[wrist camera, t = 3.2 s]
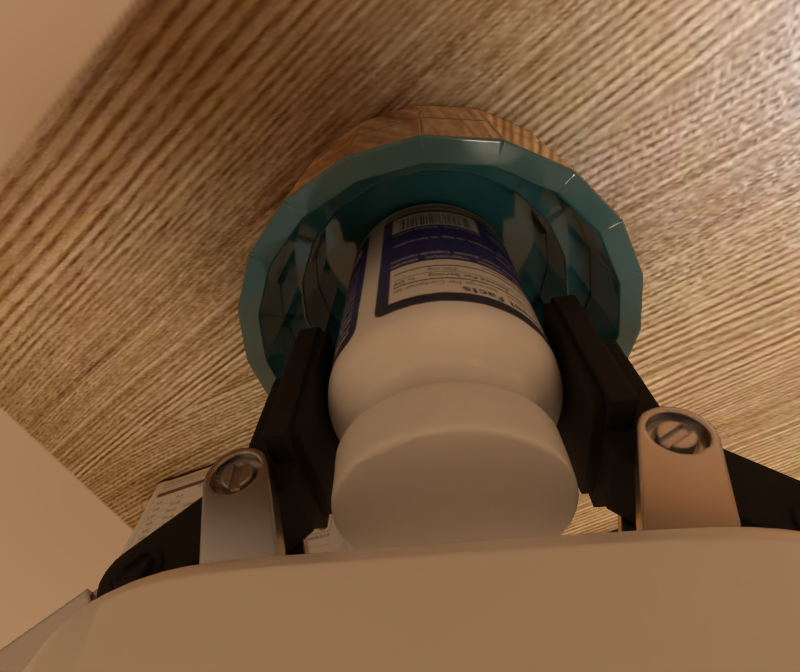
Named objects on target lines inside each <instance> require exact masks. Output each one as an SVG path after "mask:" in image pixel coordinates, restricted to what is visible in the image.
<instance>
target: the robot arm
mask: <svg viewBox="0 0 800 672" xmlns="http://www.w3.org/2000/svg"><path fill="white" fill-rule="evenodd" d="M543 331H544V333H545V336H546V337H547V340H548V342H549V344H550V346H551V348H552V351H553V353H554V355H555V357H556V360H557V363H558V366H559V369H560V372H561V377H562V382H563V403H562V410H561V414H560V417H559V420H558V423H557V425H556V427H557V429H558V431H559V434H560V436H561V439H562V441H563V444H564V446H565V449H566V451H567V454H568V457H569V459H570V462H571V465H572V468H573V471H574V474H575V476H576V480H577V484H578V487H579V490H580V492H581V493H582V494H588V493H589V496H590V499H591V501H592V504H593V506H594V507H604V506H606V507H607V509H609V510H611V511H613V512H614V513H616V514H618V532H606V533H591V534H576V535H561V536H546V537H530V538H515V539H501V540H487V541H473V542H458V543H444V544H430V545H416V546H402V547H389V548H375V549H362V550H349V551H336V552H323V553H310V552H309V546H308V541H307V536H309V535H310V534H311V533H312V532H313V531H314V529H319V528H327V527H328V520H329V514H332V509H331V497H332V489H333V482H334V472H335V460H336V453H337V449H338V446H339V443H340V441H339V439H338V437H337V435H336V433H335V431H334V429H333V426H332V423H331V419H330V415H329V409H328V385H329V378H330V373H331V368H332V362H333V358H334V353H335V349H334V346H333V343H332V340H331V336H330V334H329V332H328V331H323V330H322V329H321V327H315V328H307V329H301V330H300V331H299V333H298V335H297V338H296V341H295V344H294V346H293V349H292V352H291V355H290V357H289V360H288V363H287V365H286V368H285V371H284V374H283V376H282V377H278V378H277V379H275V381H274V383H273V385H272V388H271V390H270V393H269V396H268V398H267V401H266V403H265V406H264V409H263V411H262V414H261V416H260V419H259V422H258V424H257V427H256V429H255V432H254V435H253V437H252V440H251V443H250V445H249V448H241V449H237V450H234V451H232V452H230V453H228V454H226V455H224V456H223V457H221V458H220V459H219V460H217V461H216V462H215V463H214V464H213V465H212V467H211V468H210V469H209V471H208V472H207V474H206V476H205V478H204V483H203V495H202V497H201V498H199V499H198V500H197V501H195V502H194V503H192V504H191V505H190V506H188V507H187V508H185V509H184V510H183V511H181V512H180V513H179V514H177V515H176V516H174V517H173V518H172V519H170V520H169V521H167V522H166V523H165V524H163V525H162V526H161V527H159V528H158V529H156V530H155V531H154V532H152V533H151V534H149V535H148V536H147V537H145V538H144V539H143V540H141V541H140V542H138V543H137V544H136V545H134V546H133V547H131V548H130V549H129V550H127V551H126V552H125V553H123V554H122V555H121V556H120V557H119V558H118V559H116V560H115V561H114V562H113V564H112V565H111V566H110V567H109V569H108V570H107V571H106V572H105V574H104V576H103V578H102V580H101V581H100V583H99V587H98V589H97V590H95V591H94V592H91V591H90V590H89V589H87V590H85V591H84V592H82V593H81V594H79V595H78V596H77V597H75V598H74V599H72V600H71V601H69V602H68V603H67V604H65V605H64V606H62V607H61V608H59V609H58V610H57V611H55V612H54V613H52V614H51V615H49V616H48V617H47V618H45V619H44V620H42V621H41V622H40V623H38V624H37V625H35V626H34V627H32V628H31V629H30V630H28V631H27V632H25V633H24V634H23V635H21V636H20V637H18V638H17V639H15V640H14V641H12V642H11V643H10V644H8V645H7V646H6V647H4V648H3V649H1V650H0V672H800V481H799V480H796V479H794V478H792V477H789V476H787V475H784V474H782V473H780V472H777V471H775V470H772V469H770V468H768V467H765V466H763V465H761V464H758V463H756V462H753V461H751V460H749V459H746V458H744V457H741V456H739V455H737V454H734V453H732V452H730V451H727V450H725V449H723V447H722V443H721V439H720V436H719V434H718V432H717V430H716V429H715V428H714V426H713V425H712V424H711V423H710V422H709V421H707V420H706V419H704V418H703V417H701V416H700V415H698V414H696V413H693V412H691V411H689V410H686V409H681V408H677V407H664V406H662V407H660V406H659V405H658V403H657V402H656V400H655V399H654V397H653V396H652V394H651V393H650V391H649V390H648V388H647V387H646V385H645V384H644V382H643V381H642V379H641V378H640V376H639V375H638V373H637V372H636V370H635V369H634V367H633V366H632V364H631V363H630V361H629V360H628V358H627V357H626V355H625V354H624V352H623V351H622V349H621V348H620V346H619V345H618V343H617V342H616V341H615V340H613V339H606V340H603V339H602V337H601V336H600V334H599V333H598V331H597V329H596V328H595V326H594V325H593V323H592V321H591V320H590V318H589V317H588V315H587V313H586V312H585V310H584V309H583V307H582V305H581V304H580V302H579V301H578V299H577V297H576V296H575V295H566V296H558V297H552V298H551V302H550V303H546V304H544V310H543Z"/></svg>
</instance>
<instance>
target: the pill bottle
mask: <svg viewBox="0 0 800 672" xmlns="http://www.w3.org/2000/svg"><path fill="white" fill-rule="evenodd" d="M562 403H563V382H562V377H561V372H560V369H559V366H558V363H557V360H556V357H555V355H554V353H553V351H552V348H551V346H550V344H549V342H548V340H547V337H546V336H545V333H544V331H543V329H542V327H541V325H540V323H539V320H538V318H537V316H536V314H535V312H534V310H533V307H532V305H531V303H530V301H529V299H528V296H527V294H526V292H525V290H524V288H523V285H522V283H521V281H520V279H519V277H518V275H517V272H516V270H515V268H514V266H513V263H512V261H511V259H510V257H509V255H508V252H507V250H506V248H505V246H504V244H503V243H502V241H501V239H500V238H499V236H498V235H497V233H496V232H495V231H494V230H493V228H492V227H491V226H490V225H488V224H487V223H486V222H485V221H484V220H483V219H481V218H480V217H478V216H477V215H475V214H473V213H471V212H469V211H467V210H465V209H462V208H460V207H457V206H453V205H448V204H440V203H429V204H419V205H414V206H410V207H407V208H405V209H402V210H399V211H397V212H395V213H393V214H391V215H390V216H388V217H387V218H385V219H384V220H382V221H381V222H380V223H379V224H378V225H376V226H375V227H374V228H373V229H372V230H371V232H370V233H369V234H368V235H367V237H366V238H365V239H364V241H363V243H362V244H361V246H360V248H359V250H358V252H357V255H356V258H355V261H354V264H353V268H352V273H351V277H350V282H349V287H348V292H347V297H346V302H345V307H344V311H343V316H342V320H341V325H340V330H339V335H338V339H337V343H336V348H335V353H334V358H333V362H332V368H331V373H330V378H329V385H328V409H329V415H330V419H331V423H332V426H333V429H334V431H335V433H336V435H337V437H338V439H339V441H340V443H339V446H338V449H337V453H336V460H335V472H334V482H333V489H332V497H331V509H332V515H333V520H334V522H335V525H336V527H337V529H338V531H339V533H340V534H341V536H342V537H343V538H344V539H345V540H346V541H347V542H348V543H349V544H350V546H352V547H353V548H354V549H355V550H362V549H375V548H389V547H402V546H416V545H430V544H444V543H458V542H473V541H487V540H501V539H515V538H530V537H546V536H560V535H561V534H562V533H563V532H564V531H565V529H566V528H567V527H568V526H569V524H570V522H571V521H572V518H573V517H574V514H575V512H576V509H577V504H578V497H579V493H578V484H577V480H576V476H575V474H574V471H573V468H572V465H571V462H570V459H569V457H568V454H567V451H566V449H565V446H564V444H563V441H562V439H561V436H560V434H559V431H558V429H557V427H556V425H557V423H558V420H559V417H560V414H561V410H562Z"/></svg>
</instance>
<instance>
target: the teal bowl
mask: <svg viewBox="0 0 800 672" xmlns="http://www.w3.org/2000/svg"><path fill="white" fill-rule="evenodd" d="M429 203H440V204H448V205H453V206H457V207H460V208H462V209H465V210H467V211H469V212H471V213H473V214H475V215H477V216H478V217H480V218H481V219H483V220H484V221H485V222H486V223H487V224H488V225H490V226H491V227H492V228H493V230H494V231H495V232H496V233H497V235H498V236H499V238H500V239H501V241H502V243H503V244H504V246H505V248H506V250H507V252H508V255H509V257H510V259H511V261H512V263H513V266H514V268H515V270H516V272H517V275H518V277H519V279H520V281H521V283H522V285H523V288H524V290H525V292H526V294H527V296H528V299H529V301H530V303H531V305H532V307H533V310H534V312H535V314H536V316H537V318H538V320H539V323H540V325H541V327H542V329H543V310H544V304H546V303H550V302H551V298H552V297H558V296H566V295H575V296H576V297H577V299H578V301H579V302H580V304H581V305H582V307H583V309H584V310H585V312H586V313H587V315H588V317H589V318H590V320H591V321H592V323H593V325H594V326H595V328H596V329H597V331H598V333H599V334H600V336H601V337H602V339H603V340H606V339H613V340H615V341H616V342H617V343H618V345H619V346H620V348H621V349H622V351H623V352H624V354H625V355H626V357H627V358H628V357H629V355H630V353H631V350H632V348H633V346H634V344H635V341H636V339H637V337H638V335H639V331H640V328H641V309H642V291H643V273H642V270H641V268H640V265H639V262H638V260H637V257H636V254H635V252H634V249H633V246H632V243H631V241H630V238H629V235H628V233H627V230H626V227H625V225H624V222H623V220H622V219H621V218H620V216H619V215H618V214H617V213H616V212H615V211H614V210H613V209H612V208H611V207H610V206H609V205H608V204H607V202H606V201H605V200H604V199H603V198H602V197H601V196H600V195H599V194H598V193H597V192H596V191H595V190H594V189H593V188H592V187H591V186H590V185H589V184H588V183H587V182H586V181H585V180H584V179H583V178H582V177H581V176H580V175H579V174H578V173H577V172H576V171H575V170H574V169H573V168H571V167H570V166H569V165H568V164H567V163H566V162H564V161H563V160H562V159H561V158H560V157H559V156H557V155H556V154H555V153H554V152H553V151H551V150H550V149H549V148H548V147H547V146H546V145H544V144H543V143H542V142H541V141H540V140H538V139H537V138H536V137H535V136H534V135H533V134H531V133H529V132H528V131H527V130H525V129H523V128H520V127H518V126H516V125H514V124H511V123H509V122H507V121H505V120H502V119H500V118H498V117H496V116H493V115H491V114H489V113H487V112H484V111H482V110H476V109H475V108H461V107H444V106H427V105H420V106H419V107H418V106H417V105H416V106H412V107H409V108H406V109H402V110H399V111H396V112H392V113H389V114H386V115H382V116H379V117H376V118H372V119H369V120H366V121H363V122H362V123H361V124H358V125H357V126H355V127H354V128H353V129H351V130H350V131H349V132H347V133H346V134H345V135H343V136H342V137H341V138H339V139H338V140H337V141H335V142H334V143H333V144H331V145H330V146H328V147H327V148H326V149H324V150H323V151H322V152H320V153H319V154H318V156H317V157H315V158H314V160H313V161H312V162H311V164H310V165H309V166H308V168H307V169H306V171H305V172H304V173H303V175H302V176H301V177H300V179H299V180H298V181H297V183H296V184H295V185H294V187H293V188H292V190H291V191H290V192H289V194H288V195H287V196H286V198H285V199H284V200H283V202H282V203H281V205H280V206H279V208H278V209H277V211H276V212H275V214H274V216H273V217H272V219H271V220H270V222H269V223H268V225H267V226H266V228H265V229H264V231H263V232H262V234H261V235H260V237H259V239H258V240H257V242H256V243H255V245H254V246H253V248H252V249H251V251H250V252H249V255H248V258H247V263H246V268H245V273H244V279H243V284H242V289H241V294H240V299H239V304H238V315H239V320H240V325H241V330H242V335H243V341H244V346H245V351H246V356H247V360H248V363H249V364H250V366H251V368H252V369H253V371H254V373H255V374H256V376H257V378H258V379H259V381H260V383H261V384H262V386H263V388H264V390H265V391H266V393H267V395H268V396H269V393H270V390H271V388H272V385H273V383H274V381H275V379H277V378H278V377H282V376H283V374H284V371H285V368H286V365H287V363H288V360H289V357H290V355H291V352H292V349H293V346H294V344H295V341H296V338H297V335H298V333H299V331H300V330H301V329H307V328H315V327H321V329H322V330H323V331H328V332H329V334H330V336H331V340H332V343H333V346H334V349H335V348H336V343H337V339H338V335H339V330H340V325H341V320H342V316H343V311H344V307H345V302H346V297H347V292H348V287H349V282H350V277H351V273H352V268H353V264H354V261H355V258H356V255H357V252H358V250H359V248H360V246H361V244H362V243H363V241H364V239H365V238H366V237H367V235H368V234H369V233H370V232H371V230H372V229H373V228H374V227H375V226H376V225H378V224H379V223H380V222H381V221H382V220H384V219H385V218H387V217H388V216H390V215H391V214H393V213H395V212H397V211H399V210H402V209H405V208H407V207H410V206H414V205H419V204H429Z"/></svg>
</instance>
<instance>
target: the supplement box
mask: <svg viewBox="0 0 800 672" xmlns="http://www.w3.org/2000/svg"><path fill="white" fill-rule="evenodd" d="M211 467H212V466H211ZM211 467H208V468H205V469H202V470H199V471H196V472H193V473H190V474H188V475H185V476H182V477H179V478H176V479H173V480H169V481H165V482H161V483H159V484H158V486H157V487H156V489H155V491H154V493H153V495H152V497H151V499H150V501H149V503H148V505H147V507H146V509H145V511H144V512H143V514H142V516H141V518H140V520H139V522H138V524H137V526H136V528H135V529H134V531H133V533H132V535H131V537H130V539H129V540H128V542H127V544H126V546H125V548H124V550H123V551H122V553H121V555H122V554H123V553H125V552H126V551H127V550H129V549H130V548H131V547H133V546H134V545H136V544H137V543H138V542H140V541H141V540H143V539H144V538H145V537H147V536H148V535H149V534H151V533H152V532H154V531H155V530H156V529H158V528H159V527H161V526H162V525H163V524H165V523H166V522H167V521H169V520H170V519H172V518H173V517H174V516H176V515H177V514H179V513H180V512H181V511H183V510H184V509H185V508H187V507H188V506H190V505H191V504H192V503H194V502H195V501H197V500H198V499H199V498H201V497H202V495H203V483H204V478H205V476H206V474H207V472H208V471H209V469H210V468H211ZM307 541H308V546H309V552H310V553H323V552H336V551H349V550H355V549H354V548H353V547H352V546H350V544H349V543H348V542H347V541H346V540H345V539H344V538H343V537H342V536H341V534H340V533H339V531H338V529H337V527H336V525H335V522H334V520H333V515H332V514H329V520H328V527H327V528H319V529H314V531H313V532H312V533H311V534H310V535H309V536H307ZM121 555H120V556H121Z"/></svg>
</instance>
